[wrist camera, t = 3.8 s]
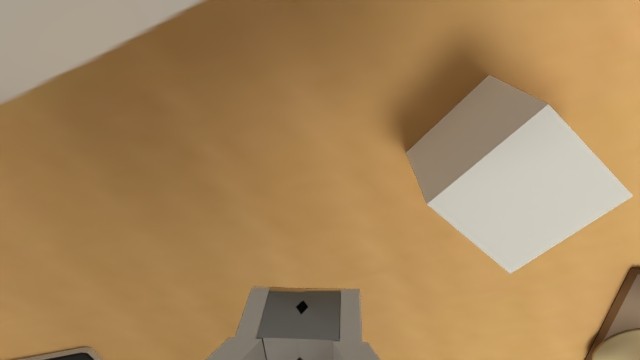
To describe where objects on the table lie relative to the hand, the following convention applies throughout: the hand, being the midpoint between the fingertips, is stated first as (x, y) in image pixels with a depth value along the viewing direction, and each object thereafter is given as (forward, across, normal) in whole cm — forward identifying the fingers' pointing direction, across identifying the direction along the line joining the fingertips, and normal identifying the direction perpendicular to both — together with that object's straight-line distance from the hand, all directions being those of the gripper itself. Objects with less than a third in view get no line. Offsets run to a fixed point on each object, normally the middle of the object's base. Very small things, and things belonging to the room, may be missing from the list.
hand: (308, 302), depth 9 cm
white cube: (+12, +9, -1) cm, 15 cm away
